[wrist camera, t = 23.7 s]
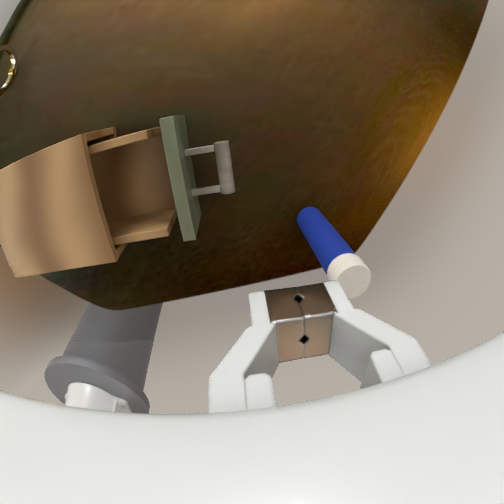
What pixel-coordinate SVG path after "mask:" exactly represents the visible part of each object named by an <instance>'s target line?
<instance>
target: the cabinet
mask: <svg viewBox="0 0 504 504" xmlns="http://www.w3.org/2000/svg"><path fill="white" fill-rule="evenodd" d="M113 138H117V132H116V127H111V128H106V129H102V130H97V131H93V132H89V133H85V134H80V135H78V136H75V137H72V138H70V139H67V140H64V141H62V142H59V143H57V144H54V145H52V146H50V147H47V148H45V149H43V150H40V151H38V152H36V153H34V154H31V155H29V156H27V157H25V158H23V159H21V160H19V161H17V162H15V163H13V164H11V165H9V166H7V167H5V168H3V169H1V170H0V243H1V246H2V248H3V251H4V253H5V256H6V258H7V260H8V263H9V265H10V267H11V269H12V271H13V274H14V276H15V277H16V278H18V277H24V276H30V275H36V274H43V273H49V272H55V271H61V270H67V269H74V268H80V267H86V266H93V265H99V264H106V263H112V262H116V261H117V260H118V258H119V256H120V255H121V253H122V251H123V250H124V248H125V247H126V245H127V244H128V243H124V244H118V245H114V243H113V240H112V237H111V234H110V231H109V228H108V224H107V221H106V218H105V215H104V211H103V208H102V204H101V201H100V197H99V193H98V189H97V185H96V182H95V177H94V173H93V169H92V165H91V160H90V156H89V151H88V146H90V145H94V144H97V143H100V142H103V141H106V140H110V139H113Z"/></svg>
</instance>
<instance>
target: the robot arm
mask: <svg viewBox="0 0 504 504" xmlns="http://www.w3.org/2000/svg"><path fill="white" fill-rule="evenodd" d="M248 296H249V305H250V314H251V322H252V327H247V329H246V330H245V331H244V332H243V334H242V335H241V336H240V338H239V339H238V341H237V342H236V343H235V344H234V346H233V347H232V348H231V350H230V351H229V352H228V354H227V355H226V356H225V358H224V359H223V360H222V362H221V363H220V364H219V365H218V367H217V368H216V369H215V371H214V372H213V373H212V374H211V376H210V377H209V396H208V397H209V398H208V413H199V414H145V413H133V412H132V410H131V408H130V406H129V404H128V402H127V401H126V400H124V399H121V398H119V397H116V396H113V395H111V394H110V393H108V392H106V391H104V390H102V389H100V388H98V387H96V386H93V385H90V384H86V383H79V382H76V383H71V384H70V385H69V386H68V391H67V393H66V394H65V400H66V401H65V405H60V404H55V403H49V402H44V401H40V400H35V399H31V398H26V397H23V396H19V395H15V394H11V393H8V392H4V391H1V390H0V504H504V332H503V333H501V334H499V335H497V336H495V337H494V338H491V339H489V340H488V341H485V342H483V343H481V344H480V345H478V346H475V347H474V348H471V349H469V350H467V351H465V352H463V353H461V354H459V355H456V356H454V357H451V358H449V359H447V360H444V361H442V362H440V363H437V364H435V365H432V364H431V363H430V361H429V359H428V358H427V356H426V355H425V353H424V351H423V350H422V348H421V347H420V345H419V343H418V342H417V340H416V339H415V338H414V337H411V336H410V335H408V334H405V333H404V332H402V331H400V330H398V329H396V328H394V327H392V326H391V325H389V324H386V323H385V322H383V321H381V320H379V319H377V318H375V317H373V316H371V315H369V314H367V313H366V312H364V311H362V310H360V309H355V310H354V308H353V306H352V304H351V302H350V301H349V299H348V297H347V295H346V294H345V292H344V290H343V288H342V286H341V285H340V283H339V281H337V280H332V281H327V282H323V283H319V284H313V285H306V286H300V287H292V288H284V289H275V290H267V291H260V292H251V293H249V295H248ZM326 354H329V356H331V357H332V358H333V359H334V360H335V361H337V362H338V363H339V364H340V365H341V366H343V367H344V368H345V369H346V370H347V371H349V372H350V373H351V374H352V375H354V376H355V377H356V378H357V379H358V380H360V381H361V382H362V384H361V387H360V389H359V390H355V391H352V392H347V393H343V394H339V395H335V396H331V397H326V398H322V399H317V400H312V401H306V402H301V403H295V404H289V405H283V406H276V403H275V397H274V392H273V386H272V381H271V379H272V377H273V375H274V373H275V371H276V369H277V367H278V365H279V363H281V362H286V361H291V360H296V359H302V358H308V357H314V356H320V355H326Z"/></svg>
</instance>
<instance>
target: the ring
mask: <svg viewBox="0 0 504 504" xmlns="http://www.w3.org/2000/svg"><path fill="white" fill-rule="evenodd" d="M0 51H5V52H7V53H8V54H9V55H10V58H11V69H10V70H9V77H8V79H7V81H6V83H5V84H4V86H3V87H2V88H1V89H0V96H1V95H2V94H4V93H5V92H6V90H7V89H8V88H9V86H10V85H11V83H12V81H13V79H14V76H15V74H16V73H17V70H18V69H17V63H18V59H17V54H16V51H15V49H14V48H13V47H11V46H9V45H2V46H0Z"/></svg>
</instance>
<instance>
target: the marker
mask: <svg viewBox="0 0 504 504" xmlns="http://www.w3.org/2000/svg"><path fill="white" fill-rule="evenodd" d="M297 224H298V226H299V228H300V230H301V231H302V233H303V235H304V236H305V238H306V240H307V241H308V243H309V245H310V247H311V248H312V250H313V252H314V253H315V255H316V257H317V259H318V260H319V262H320V264H321V266H322V267H323V269H324V271H325V272H326V275H327V278H328V280H329V281H332V280H337V281H339V283H340V285H341V286H342V288H343V290H344V292H345V294H346V295H347V297H348V299H352V298H355V297H358V296H359V295H361V294H362V293H363V292H364V291H365V290H366V289H367V288H368V286H369V284H370V281H371V273H370V270H369V269H368V268H367V266H366V265H365V264H364V263H363V261H362V260H361V259H360V258H359V257H358V256H357V255H356V254H355V253H354V252H353V251H352V249H351V248H350V247H349V246H348V244H347V243H346V242H345V241H344V240H343V238H342V237H341V236H340V235H339V234H338V232H337V231H336V230H335V229H334V228H333V226H332V225H331V224H330V223H329V222H328V220H327V219H326V218H325V217H324V216H323V215H322V213H321V212H320V211H319V210H318V209H317V208H315V207H306V208H304V209H302V210H301V211H300V212H299V214H298V216H297Z"/></svg>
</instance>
